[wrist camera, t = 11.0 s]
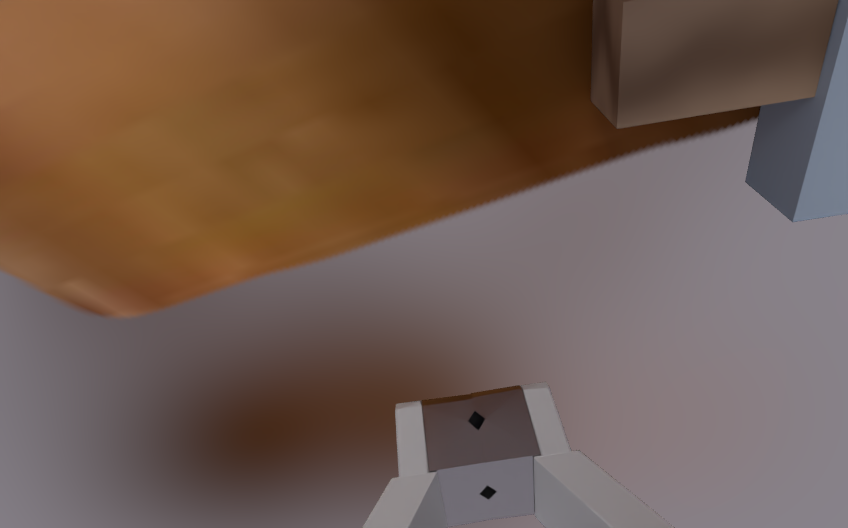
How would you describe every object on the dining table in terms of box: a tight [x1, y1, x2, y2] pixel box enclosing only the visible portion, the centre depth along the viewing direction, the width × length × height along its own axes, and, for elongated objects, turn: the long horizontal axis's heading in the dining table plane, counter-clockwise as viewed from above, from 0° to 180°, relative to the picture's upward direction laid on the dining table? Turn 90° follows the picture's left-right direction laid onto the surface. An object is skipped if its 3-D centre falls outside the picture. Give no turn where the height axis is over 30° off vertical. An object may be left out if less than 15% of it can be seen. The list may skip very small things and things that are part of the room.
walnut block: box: [591, 0, 839, 129], centre depth 30 cm, size 6×10×4 cm, turn 98°
